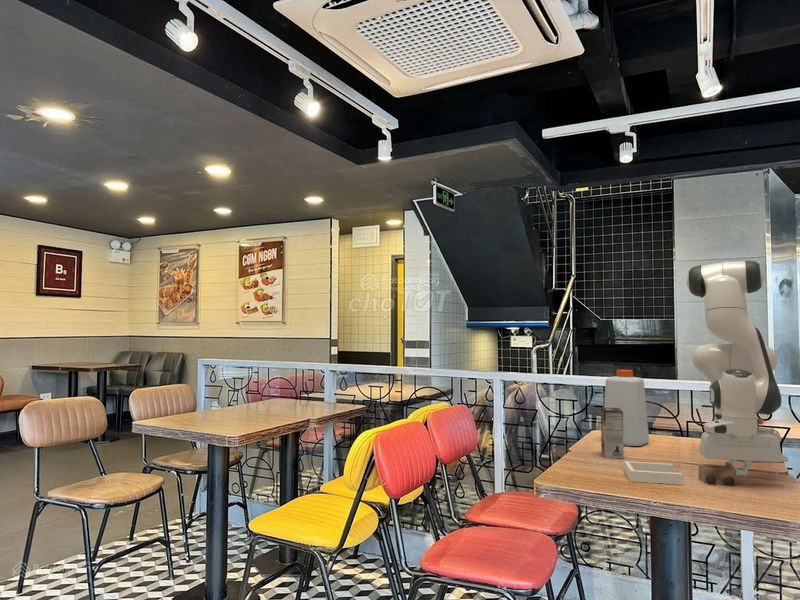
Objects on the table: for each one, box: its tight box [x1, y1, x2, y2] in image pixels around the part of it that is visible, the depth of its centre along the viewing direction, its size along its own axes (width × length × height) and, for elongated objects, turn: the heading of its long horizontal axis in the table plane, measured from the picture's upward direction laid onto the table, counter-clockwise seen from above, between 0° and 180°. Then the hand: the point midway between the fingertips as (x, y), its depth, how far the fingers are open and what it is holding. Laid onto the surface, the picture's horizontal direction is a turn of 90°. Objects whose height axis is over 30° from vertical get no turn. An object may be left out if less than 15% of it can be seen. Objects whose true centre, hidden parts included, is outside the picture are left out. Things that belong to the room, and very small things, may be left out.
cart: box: [697, 461, 737, 487], centre depth 164 cm, size 8×7×5 cm
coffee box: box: [600, 407, 625, 460], centre depth 197 cm, size 9×6×16 cm
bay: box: [623, 460, 684, 486], centre depth 168 cm, size 14×13×3 cm
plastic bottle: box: [603, 369, 650, 447], centre depth 221 cm, size 15×15×28 cm
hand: (740, 475), depth 163 cm, fingers closed
